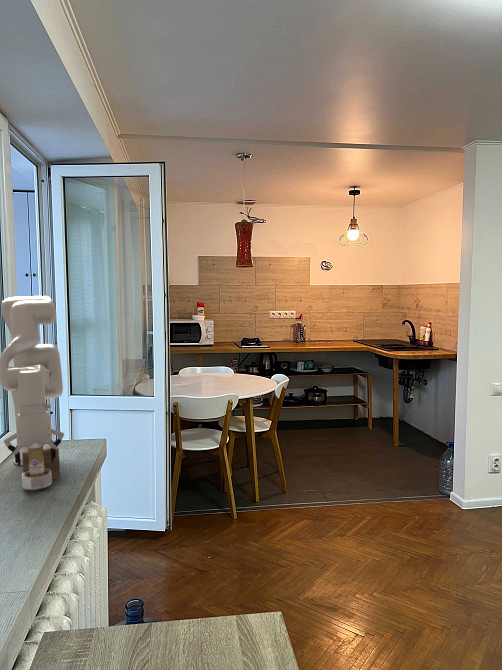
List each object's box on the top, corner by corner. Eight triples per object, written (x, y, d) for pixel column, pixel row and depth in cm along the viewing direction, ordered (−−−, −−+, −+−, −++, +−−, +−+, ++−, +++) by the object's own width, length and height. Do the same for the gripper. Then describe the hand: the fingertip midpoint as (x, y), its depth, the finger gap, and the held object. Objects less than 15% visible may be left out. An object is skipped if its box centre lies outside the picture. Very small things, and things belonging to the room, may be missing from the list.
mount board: (60, 477, 174) (58, 448, 173) (24, 483, 170) (22, 453, 169) (59, 472, 179) (57, 443, 178) (24, 477, 175) (22, 448, 174)
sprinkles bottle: (30, 485, 162) (27, 443, 161) (29, 481, 166) (27, 439, 165) (46, 483, 164) (43, 441, 163) (45, 478, 168) (42, 437, 167)
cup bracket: (52, 487, 163) (51, 469, 162) (22, 492, 160) (21, 473, 159) (51, 476, 173) (50, 458, 172) (22, 480, 170) (21, 462, 169)
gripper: (61, 403, 170) (64, 455, 171) (2, 409, 163) (6, 463, 165) (63, 408, 163) (66, 462, 164) (1, 415, 156) (5, 470, 158)
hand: (36, 462), depth 164 cm, fingers open, 9 cm apart
